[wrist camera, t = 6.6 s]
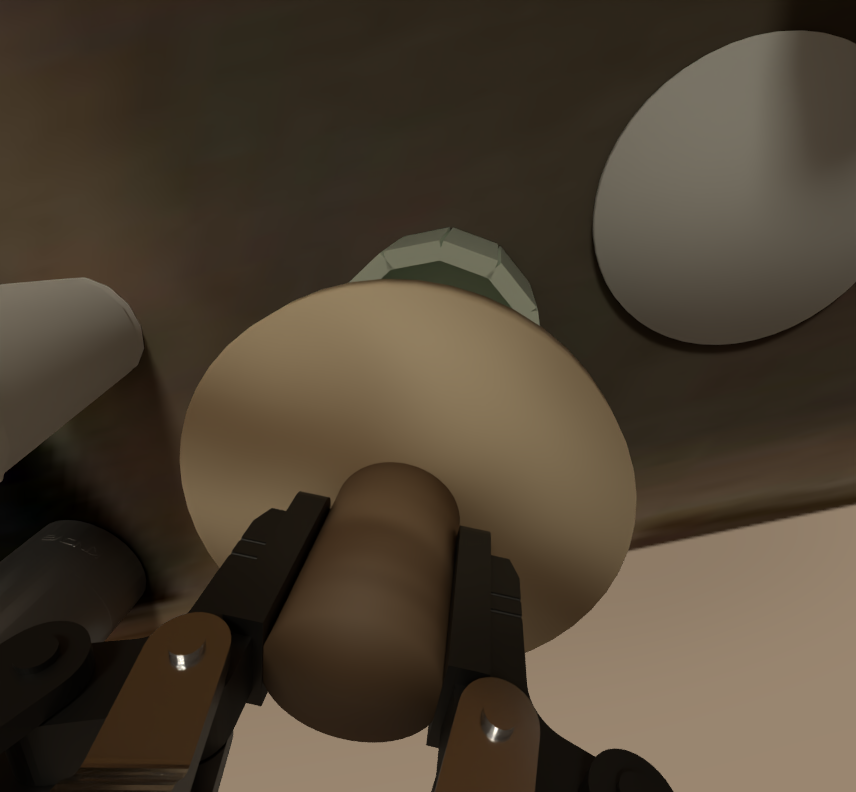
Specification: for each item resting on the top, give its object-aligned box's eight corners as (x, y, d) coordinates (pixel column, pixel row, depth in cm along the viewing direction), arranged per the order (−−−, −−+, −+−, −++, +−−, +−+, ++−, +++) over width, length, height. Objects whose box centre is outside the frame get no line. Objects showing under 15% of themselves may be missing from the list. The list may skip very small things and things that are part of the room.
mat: (778, 375, 25) (784, 380, 24) (547, 290, 25) (549, 293, 24) (983, 100, 19) (997, 97, 19) (686, -16, 19) (692, -21, 18)
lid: (514, 684, 16) (524, 917, 11) (179, 566, 15) (30, 751, 10) (721, 386, 11) (919, 564, 6) (236, 200, 10) (3, 220, 5)
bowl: (493, 422, 28) (492, 470, 24) (341, 368, 28) (311, 405, 24) (564, 268, 24) (579, 290, 20) (385, 202, 24) (360, 209, 19)
